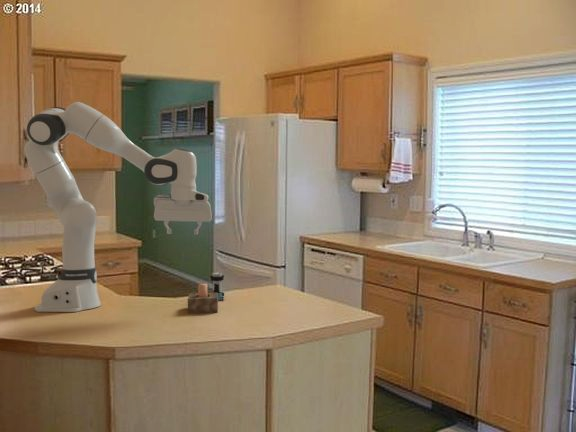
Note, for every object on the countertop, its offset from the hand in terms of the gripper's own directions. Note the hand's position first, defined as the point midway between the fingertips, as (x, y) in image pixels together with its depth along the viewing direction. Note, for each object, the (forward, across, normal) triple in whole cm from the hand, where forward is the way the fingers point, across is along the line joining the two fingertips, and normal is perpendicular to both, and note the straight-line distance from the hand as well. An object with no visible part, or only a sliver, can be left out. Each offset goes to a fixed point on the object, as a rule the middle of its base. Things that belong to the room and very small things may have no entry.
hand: (182, 234), depth 222 cm
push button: (+26, +13, +12) cm, 31 cm away
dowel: (+26, +8, -5) cm, 28 cm away
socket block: (+26, +8, -5) cm, 28 cm away
